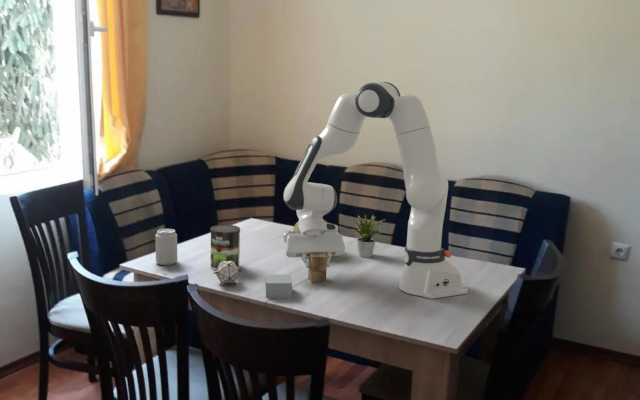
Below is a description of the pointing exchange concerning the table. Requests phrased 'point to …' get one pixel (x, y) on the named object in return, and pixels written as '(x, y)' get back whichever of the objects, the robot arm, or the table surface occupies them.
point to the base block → (278, 286)
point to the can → (166, 247)
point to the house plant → (366, 236)
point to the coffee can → (224, 244)
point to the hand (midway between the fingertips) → (318, 266)
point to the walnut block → (317, 267)
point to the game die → (227, 271)
